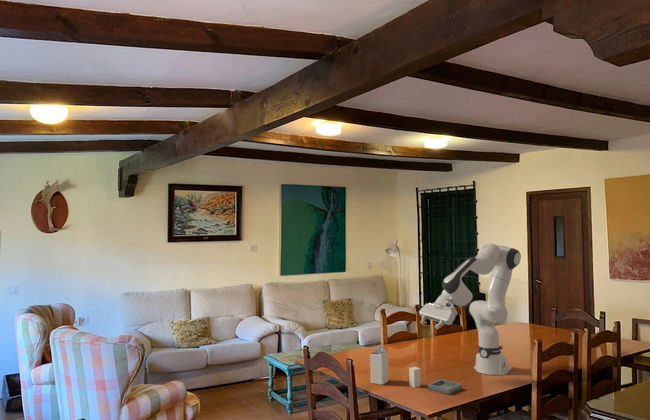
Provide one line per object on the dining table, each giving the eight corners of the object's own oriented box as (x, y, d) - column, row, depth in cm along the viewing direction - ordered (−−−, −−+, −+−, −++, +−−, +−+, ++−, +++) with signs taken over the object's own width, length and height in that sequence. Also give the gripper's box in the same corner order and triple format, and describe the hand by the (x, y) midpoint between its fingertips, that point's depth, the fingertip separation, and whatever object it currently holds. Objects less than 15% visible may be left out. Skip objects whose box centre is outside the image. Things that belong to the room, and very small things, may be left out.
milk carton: (370, 383, 257) (369, 346, 258) (376, 379, 263) (376, 343, 264) (382, 385, 253) (381, 348, 254) (388, 381, 259) (387, 345, 260)
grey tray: (441, 384, 254) (441, 379, 254) (462, 389, 246) (461, 384, 246) (428, 389, 246) (428, 384, 246) (449, 394, 237) (448, 389, 237)
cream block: (415, 384, 254) (415, 366, 255) (420, 386, 251) (420, 368, 251) (409, 385, 253) (409, 367, 253) (414, 387, 249) (413, 369, 249)
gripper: (425, 298, 269) (411, 317, 263) (455, 306, 253) (441, 326, 247) (429, 306, 272) (416, 324, 266) (460, 314, 255) (446, 334, 250)
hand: (428, 325), depth 256 cm, fingers open, 8 cm apart
